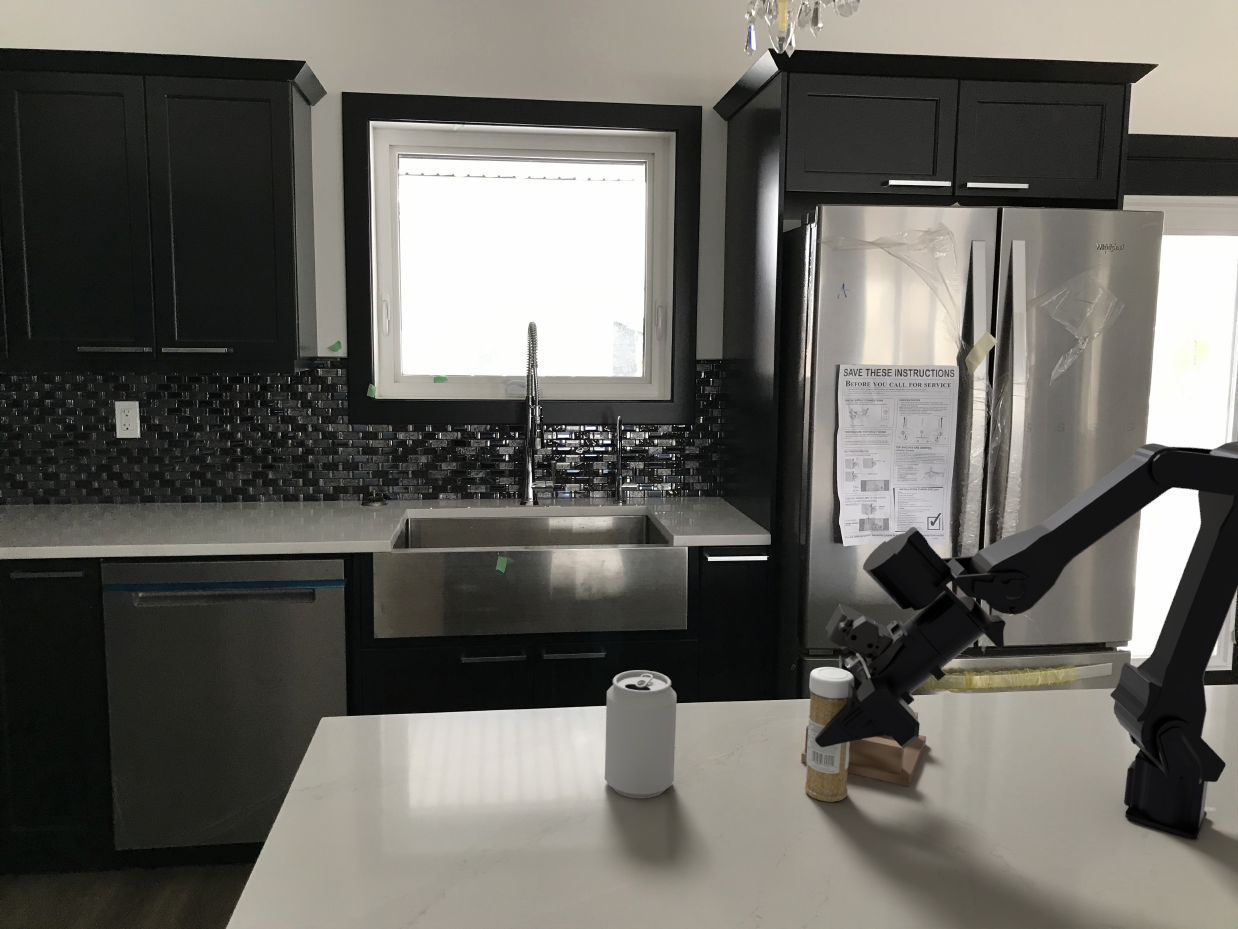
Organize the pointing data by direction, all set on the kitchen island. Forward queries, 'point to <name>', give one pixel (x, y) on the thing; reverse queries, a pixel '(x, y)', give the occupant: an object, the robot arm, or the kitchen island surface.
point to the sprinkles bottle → (826, 701)
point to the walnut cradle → (882, 758)
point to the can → (640, 734)
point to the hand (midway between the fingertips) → (815, 734)
